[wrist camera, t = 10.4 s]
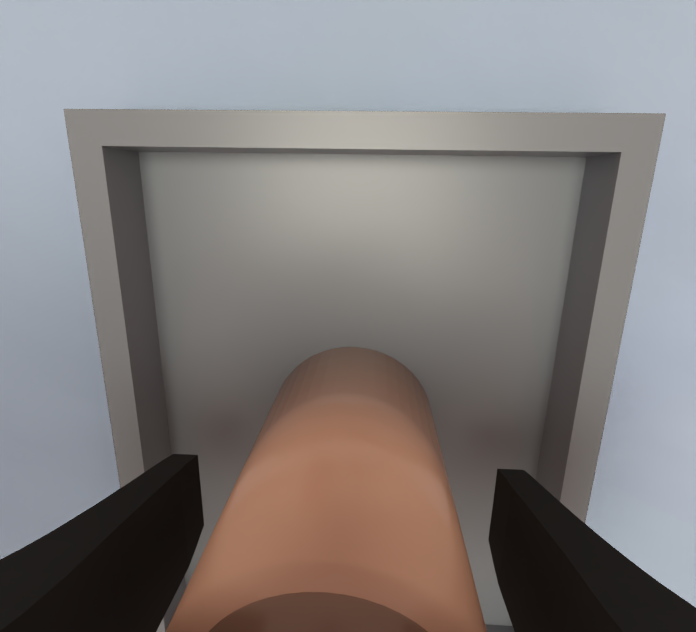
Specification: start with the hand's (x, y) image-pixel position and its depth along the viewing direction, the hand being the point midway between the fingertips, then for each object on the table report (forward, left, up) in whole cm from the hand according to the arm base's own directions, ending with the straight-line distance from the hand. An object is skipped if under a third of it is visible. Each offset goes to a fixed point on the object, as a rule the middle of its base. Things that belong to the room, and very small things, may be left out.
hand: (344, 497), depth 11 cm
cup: (0, 0, -4) cm, 4 cm away
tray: (0, 0, -4) cm, 4 cm away
